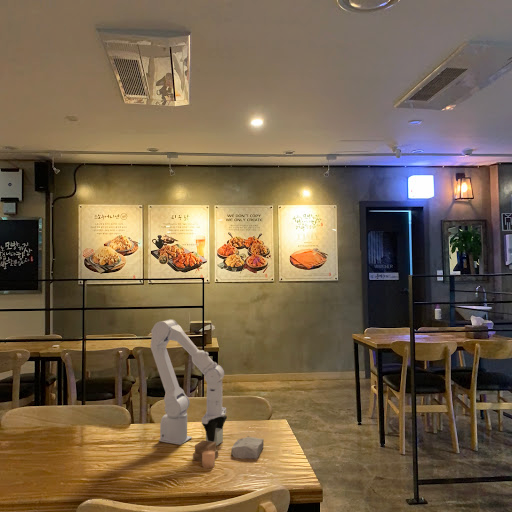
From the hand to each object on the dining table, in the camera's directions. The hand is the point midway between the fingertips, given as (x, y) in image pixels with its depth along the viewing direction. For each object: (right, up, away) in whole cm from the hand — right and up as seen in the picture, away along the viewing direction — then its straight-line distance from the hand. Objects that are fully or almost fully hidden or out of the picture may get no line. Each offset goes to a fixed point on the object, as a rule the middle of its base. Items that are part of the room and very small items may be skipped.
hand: (214, 438), depth 161 cm
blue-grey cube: (0, -1, 0) cm, 1 cm away
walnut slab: (-2, -1, -14) cm, 14 cm away
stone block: (+12, -2, -8) cm, 15 cm away
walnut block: (-2, +1, -14) cm, 14 cm away
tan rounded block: (0, -1, -20) cm, 20 cm away
